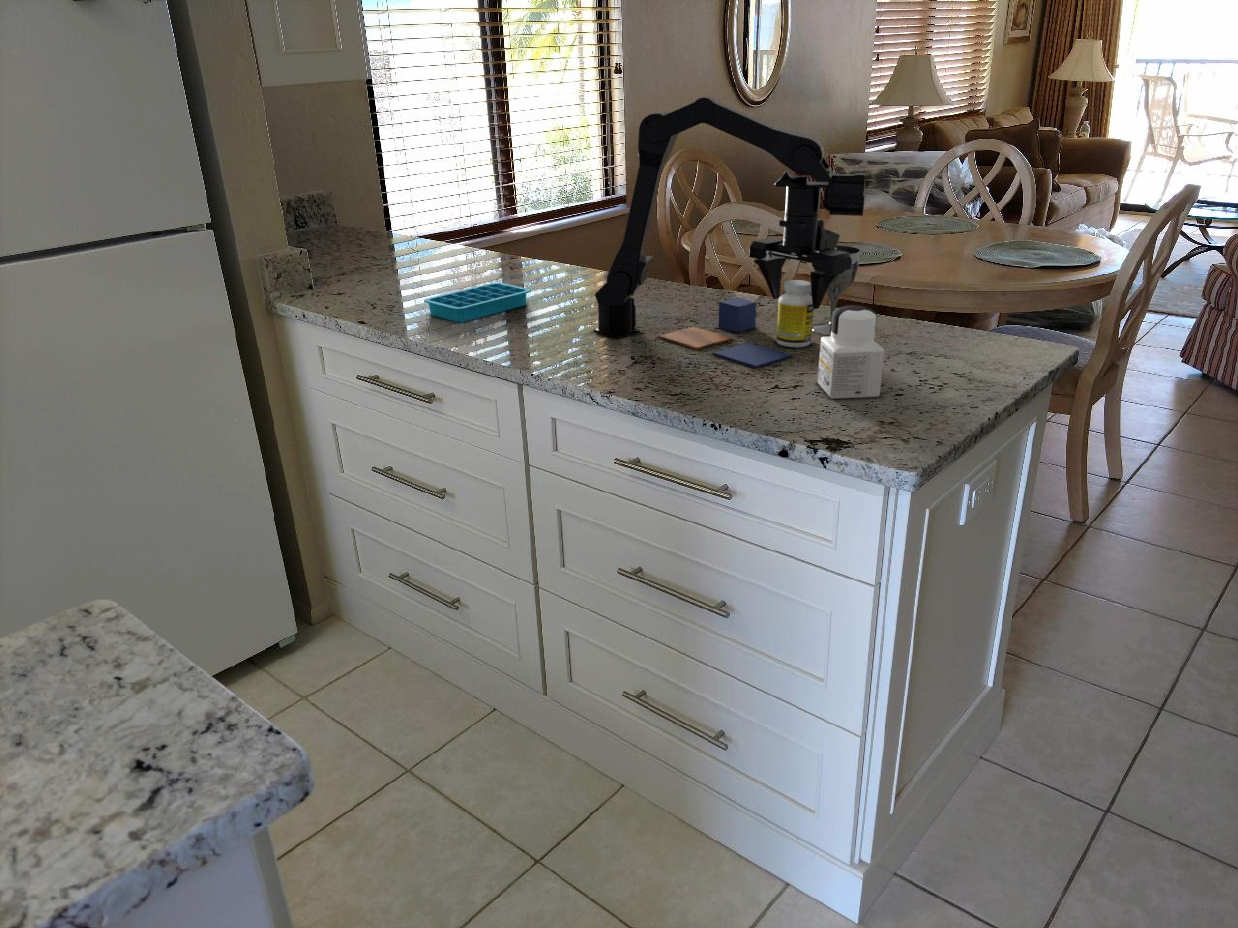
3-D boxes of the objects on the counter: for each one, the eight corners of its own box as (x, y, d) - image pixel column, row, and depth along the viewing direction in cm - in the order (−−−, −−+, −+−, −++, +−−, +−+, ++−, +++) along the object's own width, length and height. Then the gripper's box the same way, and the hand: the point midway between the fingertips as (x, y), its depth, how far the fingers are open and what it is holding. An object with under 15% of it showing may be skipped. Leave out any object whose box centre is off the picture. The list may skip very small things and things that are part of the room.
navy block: (737, 332, 179) (738, 306, 177) (718, 327, 183) (718, 301, 181) (755, 328, 182) (756, 302, 180) (736, 322, 186) (737, 297, 184)
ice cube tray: (422, 314, 194) (420, 300, 192) (497, 295, 207) (496, 281, 206) (459, 324, 187) (458, 309, 185) (534, 304, 200) (533, 290, 199)
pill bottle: (810, 349, 169) (815, 287, 165) (775, 347, 170) (778, 286, 166) (811, 339, 175) (815, 279, 170) (777, 337, 176) (780, 278, 172)
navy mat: (755, 368, 160) (755, 365, 160) (713, 354, 167) (713, 352, 167) (791, 357, 165) (791, 355, 165) (748, 344, 172) (748, 342, 172)
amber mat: (697, 349, 170) (697, 347, 170) (658, 337, 177) (658, 335, 177) (732, 339, 175) (732, 337, 175) (693, 328, 182) (693, 326, 182)
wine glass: (857, 326, 182) (864, 247, 176) (847, 337, 176) (855, 255, 169) (815, 322, 185) (821, 244, 179) (805, 333, 179) (810, 252, 173)
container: (816, 383, 153) (822, 303, 148) (864, 381, 153) (871, 301, 148) (830, 399, 146) (837, 316, 140) (880, 397, 146) (889, 314, 141)
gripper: (875, 215, 162) (867, 306, 168) (790, 202, 175) (785, 287, 181) (834, 223, 155) (826, 317, 161) (748, 209, 168) (744, 297, 174)
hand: (795, 303), depth 170 cm, fingers open, 9 cm apart
